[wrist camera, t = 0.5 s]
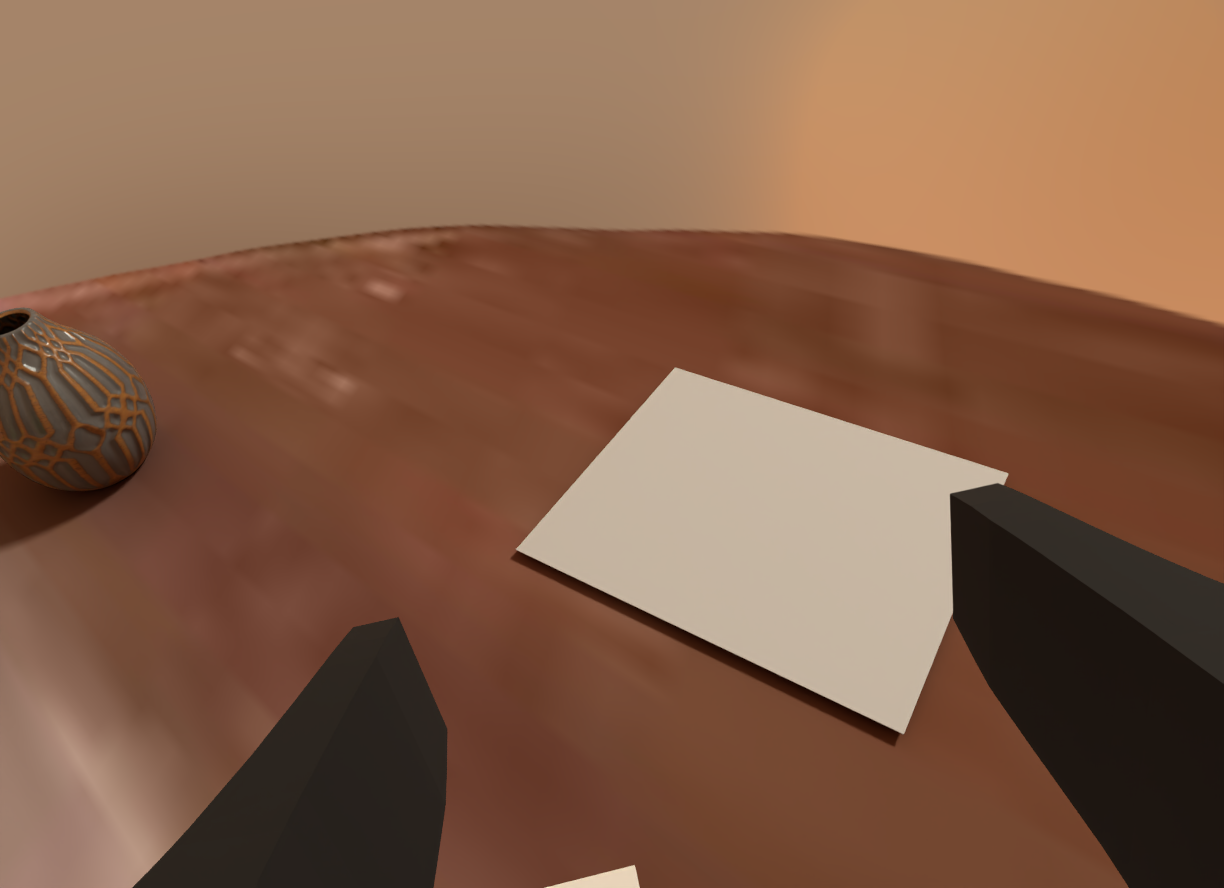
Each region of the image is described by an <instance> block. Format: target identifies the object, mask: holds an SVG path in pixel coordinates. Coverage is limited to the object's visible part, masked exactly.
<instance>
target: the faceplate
mask: <svg viewBox="0 0 1224 888" xmlns="http://www.w3.org/2000/svg"><path fill="white" fill-rule="evenodd" d="M546 888H640V887H639V883H638V878H637V873H636V869H635V865H633V866H629V867H625V868H622V869H618V870H614V871H610V872H606V873H602V874H598V875H594V876H590V877H586V878H582V879H578V880H574V881H570V882H566V883H562V884H558V885H554V886H550V887H546Z"/></svg>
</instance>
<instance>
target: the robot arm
mask: <svg viewBox="0 0 1224 888" xmlns="http://www.w3.org/2000/svg"><path fill="white" fill-rule="evenodd" d="M950 521H951V557H952V593H953V619H954V621H955V623H956V625H957V627H958V629H959V631H960V633H961V634H962V636H963V638H964V640H965V642H966V644H967V646H968V648H969V650H970V652H971V654H972V656H973V658H974V659H975V661H976V663H977V665H978V667H979V669H980V670H981V672H982V674H983V676H984V678H985V680H986V681H987V683H988V685H989V687H990V688H991V690H992V691H993V693H994V694H995V696H996V697H997V698H998V700H999V701H1000V703H1001V704H1002V706H1003V707H1004V709H1005V710H1006V711H1007V713H1008V714H1009V716H1010V717H1011V719H1012V720H1013V721H1014V723H1015V724H1016V726H1017V727H1018V729H1019V730H1020V731H1021V733H1022V734H1023V736H1024V737H1025V739H1026V740H1027V741H1028V743H1029V744H1030V746H1031V747H1032V748H1033V750H1034V751H1035V753H1036V754H1037V755H1038V757H1039V758H1040V760H1041V761H1042V762H1043V764H1044V765H1045V767H1046V768H1047V769H1048V771H1049V772H1050V774H1051V775H1052V776H1053V778H1054V779H1055V781H1056V782H1057V783H1058V785H1059V786H1060V788H1061V789H1062V790H1063V792H1064V793H1065V795H1066V796H1067V798H1068V799H1069V800H1070V802H1071V803H1072V805H1073V806H1074V807H1075V809H1076V810H1077V812H1078V813H1079V814H1080V816H1081V817H1082V819H1083V820H1084V821H1085V823H1086V824H1087V826H1088V827H1089V828H1090V830H1091V831H1092V833H1093V834H1094V835H1095V837H1096V838H1097V840H1098V841H1099V842H1100V844H1101V845H1102V847H1103V848H1104V850H1105V851H1106V853H1107V854H1108V856H1109V857H1110V859H1111V860H1112V862H1113V864H1114V865H1115V867H1116V868H1117V870H1118V871H1119V873H1120V874H1121V876H1122V877H1123V879H1124V880H1125V882H1126V883H1127V885H1128V887H1129V888H1224V584H1223V583H1220V582H1218V581H1215V580H1213V579H1210V578H1208V577H1206V576H1203V575H1201V574H1198V573H1196V572H1194V571H1191V570H1189V569H1187V568H1184V567H1182V566H1180V565H1177V564H1175V563H1173V562H1170V561H1168V560H1166V559H1163V558H1161V557H1159V556H1157V555H1154V554H1152V553H1150V552H1148V551H1145V550H1143V549H1141V548H1139V547H1137V546H1134V545H1132V544H1130V543H1128V542H1126V541H1123V540H1121V539H1119V538H1117V537H1115V536H1113V535H1110V534H1108V533H1106V532H1104V531H1102V530H1100V529H1097V528H1095V527H1093V526H1091V525H1089V524H1087V523H1085V522H1083V521H1081V520H1078V519H1076V518H1074V517H1072V516H1070V515H1068V514H1066V513H1064V512H1061V511H1059V510H1057V509H1055V508H1053V507H1051V506H1049V505H1047V504H1044V503H1042V502H1040V501H1038V500H1036V499H1034V498H1032V497H1029V496H1027V495H1025V494H1023V493H1020V492H1018V491H1016V490H1014V489H1011V488H1009V487H1006V486H1004V485H1002V484H999V483H995V484H991V485H986V486H982V487H977V488H973V489H968V490H964V491H960V492H955V493H951V494H950ZM446 779H447V727H446V725H445V723H444V720H443V718H442V716H441V714H440V711H439V709H438V707H437V704H436V702H435V700H434V698H433V695H432V693H431V691H430V688H429V686H428V684H427V681H426V679H425V677H424V675H423V672H422V670H421V668H420V665H419V663H418V661H417V659H416V656H415V654H414V652H413V649H412V647H411V645H410V643H409V640H408V638H407V636H406V633H405V631H404V629H403V626H402V624H401V622H400V620H399V617H398V618H393V619H389V620H384V621H380V622H375V623H371V624H366V625H362V626H357V627H353V628H352V629H351V631H350V632H349V633H348V634H347V635H346V636H345V638H344V639H343V640H342V641H341V642H340V644H339V645H338V646H337V647H336V649H335V650H334V651H333V652H332V654H331V655H330V656H329V658H328V659H327V660H326V661H325V663H324V664H323V665H322V666H321V668H320V669H319V670H318V672H317V673H316V674H315V676H314V677H313V678H312V679H311V681H310V682H309V683H308V685H307V686H306V687H305V688H304V690H303V691H302V692H301V694H300V695H299V696H298V697H297V699H296V700H295V701H294V703H293V704H292V705H291V706H290V708H289V709H288V710H287V711H286V713H285V714H284V715H283V716H282V718H281V719H280V720H279V721H278V723H277V724H276V725H275V727H274V728H273V729H272V730H271V732H270V733H269V734H268V735H267V737H266V738H265V739H264V740H263V742H262V743H261V744H260V745H259V747H258V748H257V749H256V750H255V752H254V753H253V754H252V755H251V757H250V758H249V759H248V760H247V761H246V762H245V764H244V765H243V766H242V767H241V768H240V769H239V771H238V772H237V773H236V774H235V775H234V776H233V778H232V779H231V780H230V781H229V782H228V783H227V785H226V786H225V787H224V788H223V789H222V790H221V791H220V793H219V794H218V795H217V796H216V797H215V798H214V800H213V801H212V802H211V803H210V804H209V805H208V807H207V808H206V809H205V810H204V811H203V812H202V814H201V815H200V816H199V817H198V818H197V819H196V821H195V822H194V823H193V824H192V825H191V826H190V828H189V829H188V830H187V831H186V832H185V833H184V834H183V835H182V836H181V837H180V838H179V840H178V841H177V842H176V843H175V844H174V845H173V846H172V847H171V848H170V849H169V850H168V851H167V852H166V854H165V855H164V856H163V857H162V858H161V859H160V860H159V861H158V862H157V863H156V864H155V865H154V866H153V867H152V868H151V869H150V870H149V871H148V872H147V873H146V874H145V875H144V876H143V877H142V878H141V879H140V880H139V881H138V882H137V883H136V884H135V885H134V887H133V888H433V887H434V880H435V874H436V867H437V861H438V854H439V847H440V840H441V833H442V827H443V819H444V812H445V805H446Z"/></svg>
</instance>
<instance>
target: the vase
mask: <svg viewBox="0 0 1224 888" xmlns="http://www.w3.org/2000/svg"><path fill="white" fill-rule="evenodd" d="M156 429H157V426H156V413H155V407H154V404H153V400H152V397H151V395H150V393H149V390H148V388H147V386H146V385H145V383H144V381H143V379H142V378H141V376H140V375H139V373H138V372H137V370H136V369H135V368H134V367H133V366H132V364H131V363H130V362H129V361H128V360H127V359H126V358H125V357H124V356H123V355H121V354H120V353H119V352H118V351H117V350H115V349H114V348H113V347H111V346H110V345H109V344H107V343H106V342H104V341H102V340H101V339H99V338H97V337H94V336H92V335H90V334H87V333H84V332H82V331H79V330H76V329H73V328H70V327H67V326H64V325H61V324H58V323H55V322H53V321H51V320H49V319H47V318H45V317H44V316H42V315H41V314H39V313H37V312H36V311H34V310H32V309H30V308H14V309H10V310H6V311H3V312H0V456H1V458H2V459H3V460H4V461H5V462H7V463H8V464H9V465H10V466H11V467H12V468H13V469H15V470H16V471H18V472H19V473H20V474H22V475H23V476H25V477H27V478H29V479H31V480H32V481H34V482H36V483H39V484H41V485H44V486H46V487H49V488H54V489H59V490H65V491H91V490H97V489H102V488H105V487H108V486H111V485H113V484H115V483H118V482H119V481H121V480H123V479H125V478H126V477H128V476H129V475H131V474H132V473H133V472H134V471H135V470H137V469H138V468H139V467H140V465H141V464H142V463H143V462H144V460H145V459H146V457H147V455H148V453H149V451H150V449H151V447H152V445H153V442H154V439H155V435H156Z"/></svg>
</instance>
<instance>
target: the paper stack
mask: <svg viewBox="0 0 1224 888" xmlns="http://www.w3.org/2000/svg"><path fill="white" fill-rule="evenodd" d="M1007 476H1008V473H1005V472H1002V471H999V470H996V469H993V468H989V467H986V466H983V465H980V464H977V463H974V462H971V461H967V460H964V459H961V458H958V457H955V456H952V455H949V454H945V453H942V452H939V451H936V450H933V449H930V448H927V447H923V446H920V445H917V444H914V443H911V442H908V441H905V440H901V439H898V438H895V437H892V436H889V435H886V434H883V433H879V432H876V431H873V430H870V429H867V428H864V427H861V426H857V425H854V424H851V423H848V422H845V421H842V420H839V419H835V418H832V417H829V416H826V415H823V414H820V413H817V412H813V411H810V410H807V409H804V408H801V407H798V406H795V405H791V404H788V403H785V402H782V401H779V400H776V399H772V398H769V397H766V396H763V395H760V394H757V393H754V392H750V391H747V390H744V389H741V388H738V387H735V386H732V385H728V384H725V383H722V382H719V381H716V380H713V379H710V378H706V377H703V376H700V375H697V374H694V373H691V372H688V371H684V370H681V369H678V368H674V369H673V371H672V372H671V373H670V374H669V375H668V376H667V377H666V379H665V380H664V381H663V382H662V383H661V384H660V385H659V387H658V388H657V389H656V390H655V391H654V392H653V393H652V395H651V396H650V397H649V398H648V399H647V400H646V401H645V403H644V404H643V405H642V406H641V407H640V408H639V409H638V411H637V412H636V413H635V414H634V415H633V416H632V417H631V419H630V420H629V421H628V422H627V423H626V424H625V425H624V427H623V428H622V429H621V430H620V431H619V432H618V433H617V435H616V436H615V437H614V438H613V439H612V440H611V441H610V443H609V444H608V445H607V446H606V447H605V448H604V449H603V451H602V452H601V453H600V454H599V455H598V456H597V457H596V459H595V460H594V461H593V462H592V463H591V464H590V465H589V467H588V468H587V469H586V470H585V471H584V472H583V473H582V475H581V476H580V477H579V478H578V479H577V480H576V481H575V483H574V484H573V485H572V486H571V487H570V488H569V489H568V491H567V492H566V493H565V494H564V495H563V496H562V497H561V499H560V500H559V501H558V502H557V503H556V504H555V505H554V507H553V508H552V509H551V510H550V511H549V512H548V513H547V515H546V516H545V517H544V518H543V519H542V520H541V521H540V523H539V524H538V525H537V526H536V527H535V528H534V529H533V531H532V532H531V533H530V534H529V535H528V536H527V537H526V539H525V540H524V541H523V542H522V543H521V544H520V545H519V547H518V548H517V549H516V550H517V551H519V552H521V553H523V554H525V555H528V556H530V557H532V558H534V559H536V560H538V561H540V562H542V563H544V564H546V565H549V566H551V567H553V568H555V569H557V570H559V571H561V572H563V573H565V574H567V575H570V576H572V577H574V578H576V579H578V580H580V581H582V582H584V583H586V584H588V585H591V586H593V587H595V588H597V589H599V590H601V591H603V592H605V593H607V594H609V595H612V596H614V597H616V598H618V599H620V600H622V601H624V602H626V603H628V604H630V605H633V606H635V607H637V608H639V609H641V610H643V611H645V612H647V613H649V614H651V615H654V616H656V617H658V618H660V619H662V620H664V621H666V622H668V623H670V624H672V625H675V626H677V627H679V628H681V629H683V630H685V631H687V632H689V633H691V634H693V635H696V636H698V637H700V638H702V639H704V640H706V641H708V642H710V643H712V644H714V645H717V646H719V647H721V648H723V649H725V650H727V651H729V652H731V653H733V654H735V655H737V656H740V657H742V658H744V659H746V660H748V661H750V662H752V663H754V664H756V665H758V666H761V667H763V668H765V669H767V670H769V671H771V672H773V673H775V674H777V675H779V676H782V677H784V678H786V679H788V680H790V681H792V682H794V683H796V684H798V685H800V686H803V687H805V688H807V689H809V690H811V691H813V692H815V693H817V694H819V695H821V696H824V697H826V698H828V699H830V700H832V701H834V702H836V703H838V704H840V705H842V706H845V707H847V708H849V709H851V710H853V711H855V712H857V713H859V714H861V715H863V716H866V717H868V718H870V719H872V720H874V721H876V722H878V723H880V724H882V725H884V726H887V727H889V728H891V729H893V730H895V731H897V732H899V733H901V734H903V735H904V733H905V730H906V728H907V725H908V723H909V720H910V718H911V715H912V713H913V710H914V708H915V705H916V703H917V700H918V698H919V695H920V693H921V690H922V688H923V685H924V683H925V680H926V678H927V675H928V673H929V670H930V668H931V665H932V663H933V660H934V658H935V655H936V653H937V650H938V648H939V645H940V643H941V640H942V638H943V635H944V633H945V630H946V628H947V625H948V623H949V620H950V618H951V615H952V613H953V593H952V557H951V521H950V494H951V493H955V492H960V491H964V490H968V489H973V488H977V487H982V486H986V485H991V484H995V483H999V484H1002V485H1004V483H1005V481H1006V478H1007Z"/></svg>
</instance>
